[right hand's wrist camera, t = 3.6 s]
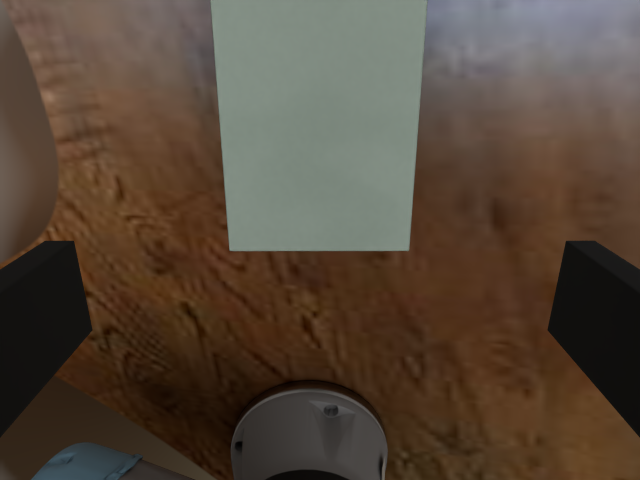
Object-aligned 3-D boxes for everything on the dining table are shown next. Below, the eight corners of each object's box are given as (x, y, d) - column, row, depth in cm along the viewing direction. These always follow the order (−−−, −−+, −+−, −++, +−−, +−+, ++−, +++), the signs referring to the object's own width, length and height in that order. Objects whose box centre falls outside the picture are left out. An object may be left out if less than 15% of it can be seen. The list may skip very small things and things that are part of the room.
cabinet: (243, -63, 30) (199, -138, 19) (394, -63, 30) (438, -139, 19) (256, 195, 37) (229, 251, 26) (382, 195, 37) (409, 251, 26)
